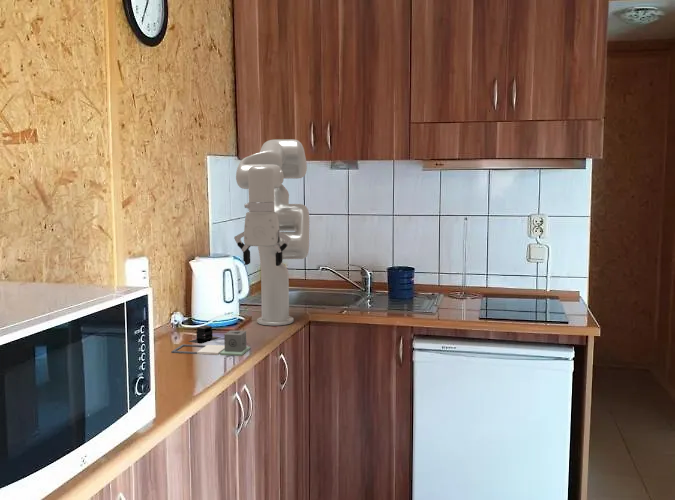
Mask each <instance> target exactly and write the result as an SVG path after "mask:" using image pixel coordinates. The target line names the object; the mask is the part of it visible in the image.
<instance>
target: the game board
mask: <svg viewBox="0 0 675 500" xmlns="http://www.w3.org/2000/svg"><path fill="white" fill-rule="evenodd" d="M183 347H190V348H191V347H193V348H200V349H199V350H198V351H182V350H181V351H180V349H182V348H183ZM249 350H251V346H247V348H246V349H244V350H243V351H242V352H229V351H225V345H224V344H223V345H222V344H221V345H218V344H206V345H204V344H203V345H202V344H186V343H185V344H181V345H179V346H178V347H176V348H174V349H173V350H172V351H171V354H172V353H173V354H192V355H211V356H212V355H215V356H219V355H220V356H231V355H234V356H233V357H235V356H237V357H242V356H243V355H244V354H246V353H247V352H248V351H249Z"/></svg>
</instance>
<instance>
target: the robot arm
mask: <svg viewBox="0 0 675 500" xmlns="http://www.w3.org/2000/svg"><path fill="white" fill-rule="evenodd" d="M236 168H237V169H236V174H235V180H236V184H237V186H239V188H241V189H244V190H248V202H247V203H244V206H243V207H244V209H247V210H248V211H247V212H245V213H246V214H245V219H244V226H243V227H244V229H243V232H241V233H239V234H237V235H236V236H234V238H233V239H234V241H235V242H236V244H237V247H239V249H240V250H241V252H242V254H243V255H242V256H243V258H242V259H243V260H242V261H243V262H244V265H245V266H247V265H249V264H251V251H250V250H249V249H250V248H251V247H257V248H258V255H259V262H260V287H261V288H260V289H261V290H260V292H261V294H260V295H261V316H260V317H258V318H257V319H256V321H257V323H258V324H259V325H263V326H269V327H270V326H287V325H289V324H290V325H291V324H292V323H294V317H292V316H290V292H289V291H290V290H289V289H290V285H289V284H290V281H289V277H290V276H289V275H290V274H289V270H288V268H287V267H286V265H285V264H284V263H283V260H302V259H303V260H304V259H306V258H307V257H308V255H309V251H310V213H309V212H310V211H309V209H308V207H307V206H306V205H305V204H303V203H289V202H290V194H289V191H288V190H287V188H286V187H285V185H283V182H284V179H287V180H289V179H291V180H292V179H294V180H295V179H302V178H304V177H305V176H306V174H307V168H308V164H307V159H306V154H305V148H304V146H303V144H302V142H300V140H298V139H292V138H291V139H269V140H267V141H265V142H264V143H263V144H262V146H261V147H260V151H259V152H257V153H254V154H250V155H248V156H246V157H244V158H242V159H241V160H240V161H239V163H238V166H237V167H236ZM242 238H243V242H242Z"/></svg>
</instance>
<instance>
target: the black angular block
mask: <svg viewBox="0 0 675 500" xmlns="http://www.w3.org/2000/svg"><path fill="white" fill-rule="evenodd" d="M217 339H221V337H220V336H215V335H213V328H212V326H211V325H202V326H198V327H197V328H196V338H195V339H192V340H188V341H187V342H188V343H193V344H194V343H195V344H198V345H202V344H205V343H208V342H211V341H214V340H217Z"/></svg>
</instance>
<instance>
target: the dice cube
mask: <svg viewBox="0 0 675 500" xmlns="http://www.w3.org/2000/svg"><path fill="white" fill-rule="evenodd" d="M223 335H224V337H223V338H224V346H225V351H229V352H242V351H243V350H244V349H246V348H247V347H248V345H247V330H228V331H227V332H226V333H224V334H223Z"/></svg>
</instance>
